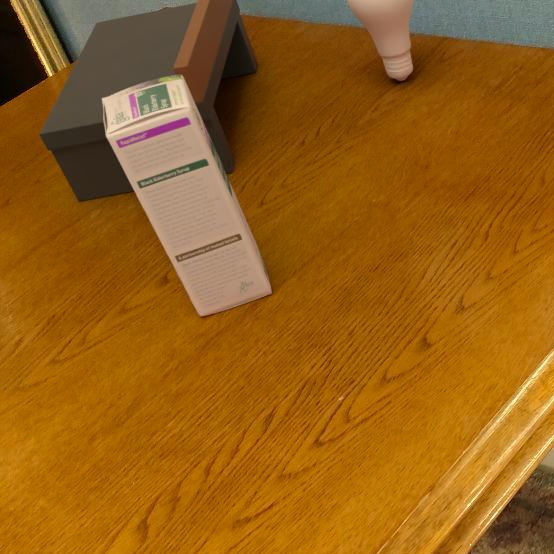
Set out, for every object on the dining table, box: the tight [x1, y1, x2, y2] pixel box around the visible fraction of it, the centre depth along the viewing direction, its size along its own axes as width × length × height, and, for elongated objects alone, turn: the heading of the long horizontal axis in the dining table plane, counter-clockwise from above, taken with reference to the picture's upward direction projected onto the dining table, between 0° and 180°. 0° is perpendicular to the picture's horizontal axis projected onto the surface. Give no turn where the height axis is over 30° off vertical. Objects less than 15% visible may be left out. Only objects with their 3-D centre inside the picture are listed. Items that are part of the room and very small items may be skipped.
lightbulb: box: [346, 0, 415, 82], centre depth 90 cm, size 6×6×11 cm
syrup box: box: [102, 75, 273, 317], centre depth 70 cm, size 6×6×14 cm
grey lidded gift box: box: [38, 0, 259, 202], centre depth 91 cm, size 14×23×10 cm, turn 5°
